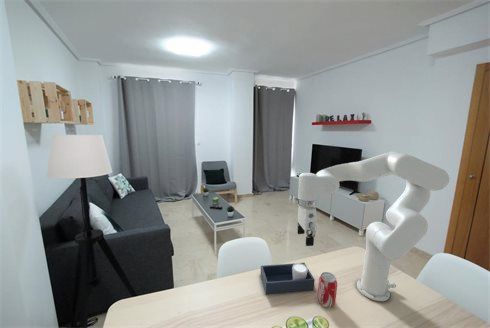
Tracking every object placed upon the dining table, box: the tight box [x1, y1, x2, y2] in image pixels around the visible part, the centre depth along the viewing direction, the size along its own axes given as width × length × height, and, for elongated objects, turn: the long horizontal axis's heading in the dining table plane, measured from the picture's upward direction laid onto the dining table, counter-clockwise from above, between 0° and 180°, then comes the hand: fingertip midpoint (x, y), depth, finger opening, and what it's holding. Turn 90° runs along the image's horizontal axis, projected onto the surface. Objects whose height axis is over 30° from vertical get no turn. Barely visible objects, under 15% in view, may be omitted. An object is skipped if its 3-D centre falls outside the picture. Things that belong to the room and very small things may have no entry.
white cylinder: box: [292, 262, 309, 280], centre depth 102 cm, size 7×7×7 cm
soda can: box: [316, 271, 338, 309], centre depth 90 cm, size 7×7×12 cm
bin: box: [260, 262, 315, 296], centre depth 101 cm, size 22×12×6 cm, turn 97°
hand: (305, 239), depth 97 cm, fingers open, 9 cm apart
